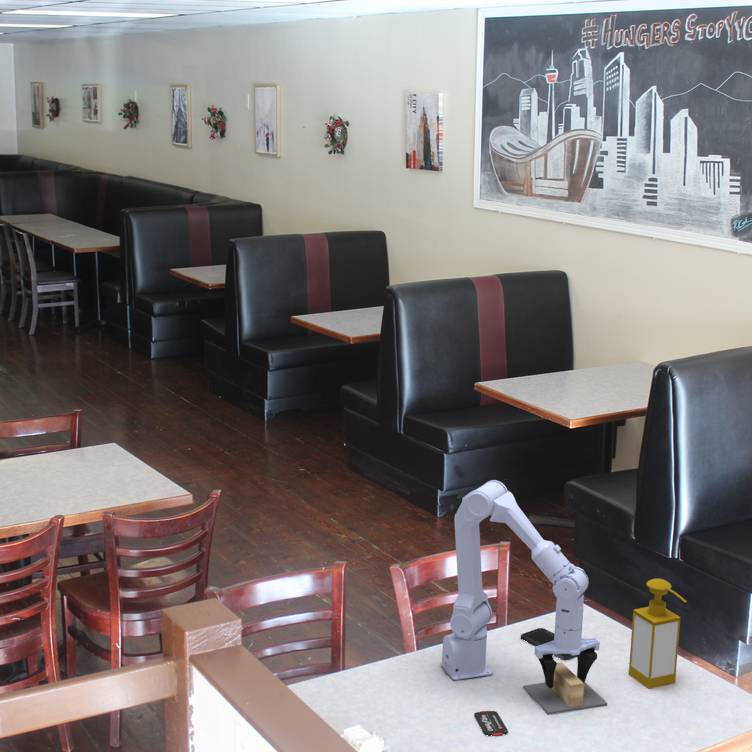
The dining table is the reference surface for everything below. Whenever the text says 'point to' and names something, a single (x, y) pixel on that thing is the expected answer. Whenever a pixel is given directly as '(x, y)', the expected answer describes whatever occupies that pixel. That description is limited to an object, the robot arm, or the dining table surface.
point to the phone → (543, 640)
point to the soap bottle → (655, 639)
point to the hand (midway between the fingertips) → (565, 683)
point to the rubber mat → (556, 704)
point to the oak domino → (568, 686)
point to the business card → (491, 723)
